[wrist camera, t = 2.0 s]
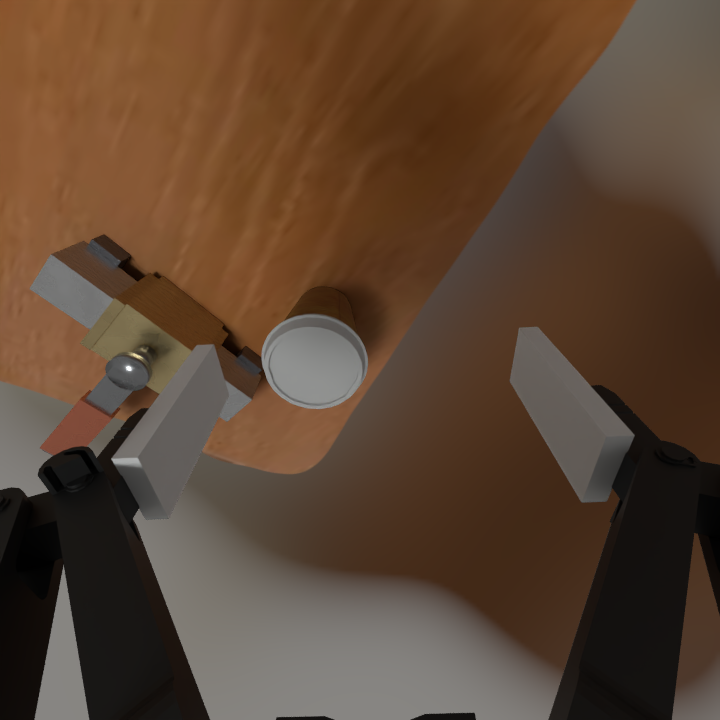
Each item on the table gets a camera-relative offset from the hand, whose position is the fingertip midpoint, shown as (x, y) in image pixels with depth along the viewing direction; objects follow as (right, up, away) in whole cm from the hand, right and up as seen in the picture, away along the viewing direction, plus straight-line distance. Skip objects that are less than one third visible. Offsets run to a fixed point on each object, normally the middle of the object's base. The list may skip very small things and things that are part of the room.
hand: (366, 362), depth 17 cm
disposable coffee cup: (-4, +6, +27) cm, 28 cm away
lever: (-26, -4, +21) cm, 34 cm away
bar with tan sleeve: (-21, +5, +27) cm, 35 cm away
